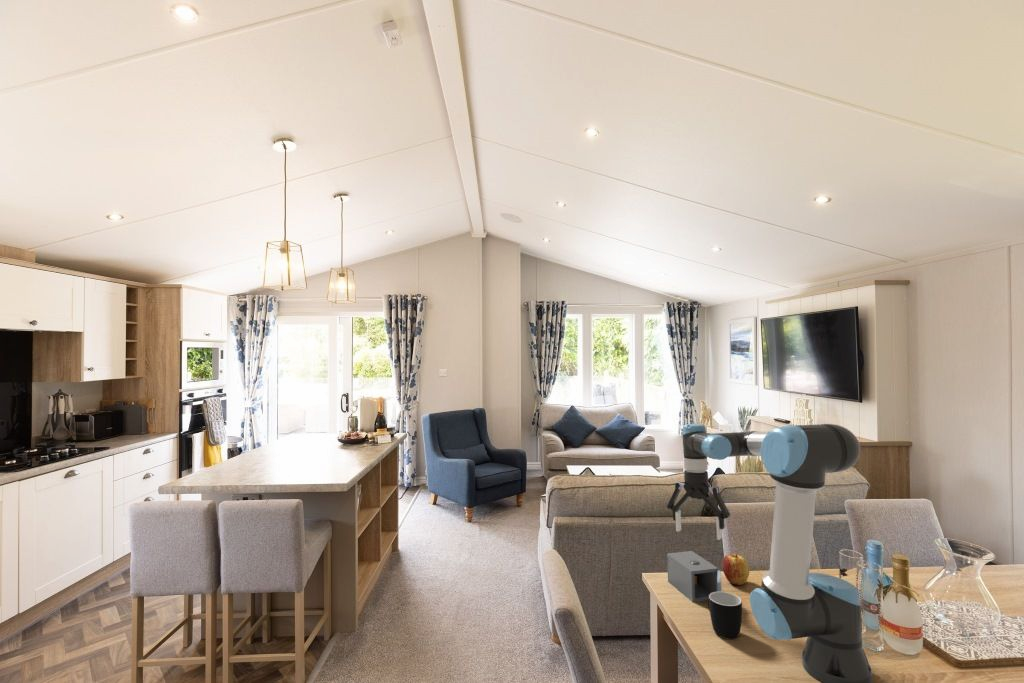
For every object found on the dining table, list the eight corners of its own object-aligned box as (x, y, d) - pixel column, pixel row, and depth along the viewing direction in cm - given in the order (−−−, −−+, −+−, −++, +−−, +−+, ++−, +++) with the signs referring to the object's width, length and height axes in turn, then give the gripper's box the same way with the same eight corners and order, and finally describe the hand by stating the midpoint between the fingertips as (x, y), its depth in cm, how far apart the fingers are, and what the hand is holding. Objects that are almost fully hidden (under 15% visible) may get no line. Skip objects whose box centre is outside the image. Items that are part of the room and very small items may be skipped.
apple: (722, 576, 185) (721, 548, 186) (748, 579, 182) (747, 551, 182) (723, 586, 177) (722, 557, 177) (751, 590, 174) (750, 560, 174)
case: (719, 598, 168) (718, 567, 168) (692, 602, 166) (691, 570, 166) (692, 578, 184) (691, 550, 184) (667, 581, 182) (666, 553, 182)
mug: (750, 639, 143) (748, 603, 144) (723, 644, 141) (722, 607, 141) (722, 618, 155) (720, 585, 155) (697, 623, 153) (696, 589, 153)
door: (723, 597, 167) (722, 570, 168) (723, 612, 158) (722, 583, 158) (718, 596, 168) (717, 569, 168) (718, 611, 158) (717, 582, 159)
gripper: (738, 472, 163) (741, 538, 162) (664, 464, 179) (667, 524, 178) (731, 476, 157) (734, 545, 156) (655, 468, 173) (658, 530, 172)
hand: (698, 534), depth 167 cm, fingers open, 13 cm apart
